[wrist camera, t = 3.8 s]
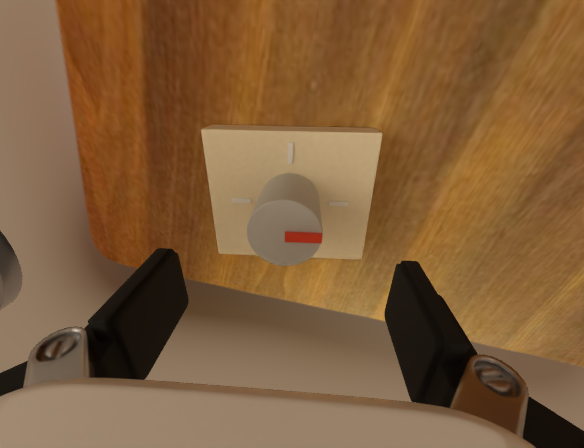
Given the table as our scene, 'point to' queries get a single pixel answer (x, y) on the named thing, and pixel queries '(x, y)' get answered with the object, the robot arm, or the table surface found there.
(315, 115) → the table surface
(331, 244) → the panel
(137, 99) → the table surface
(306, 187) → the knob
